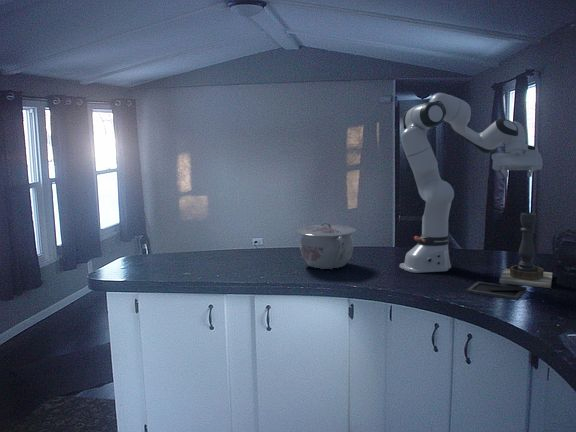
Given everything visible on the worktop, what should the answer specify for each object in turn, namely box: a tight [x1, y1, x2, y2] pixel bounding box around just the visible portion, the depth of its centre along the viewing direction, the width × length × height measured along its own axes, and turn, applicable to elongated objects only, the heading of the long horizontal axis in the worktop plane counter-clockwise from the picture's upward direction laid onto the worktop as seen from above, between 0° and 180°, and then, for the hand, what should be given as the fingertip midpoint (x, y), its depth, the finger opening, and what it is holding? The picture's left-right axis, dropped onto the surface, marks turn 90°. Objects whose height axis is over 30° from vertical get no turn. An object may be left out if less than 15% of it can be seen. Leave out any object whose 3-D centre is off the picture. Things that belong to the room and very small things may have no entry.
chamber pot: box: [295, 221, 358, 270], centre depth 242 cm, size 28×28×21 cm
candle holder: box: [518, 212, 537, 272], centre depth 211 cm, size 6×6×25 cm
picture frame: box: [465, 281, 528, 301], centre depth 198 cm, size 13×2×18 cm
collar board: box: [499, 264, 553, 289], centre depth 213 cm, size 18×18×4 cm
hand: (517, 176), depth 230 cm, fingers open, 8 cm apart
